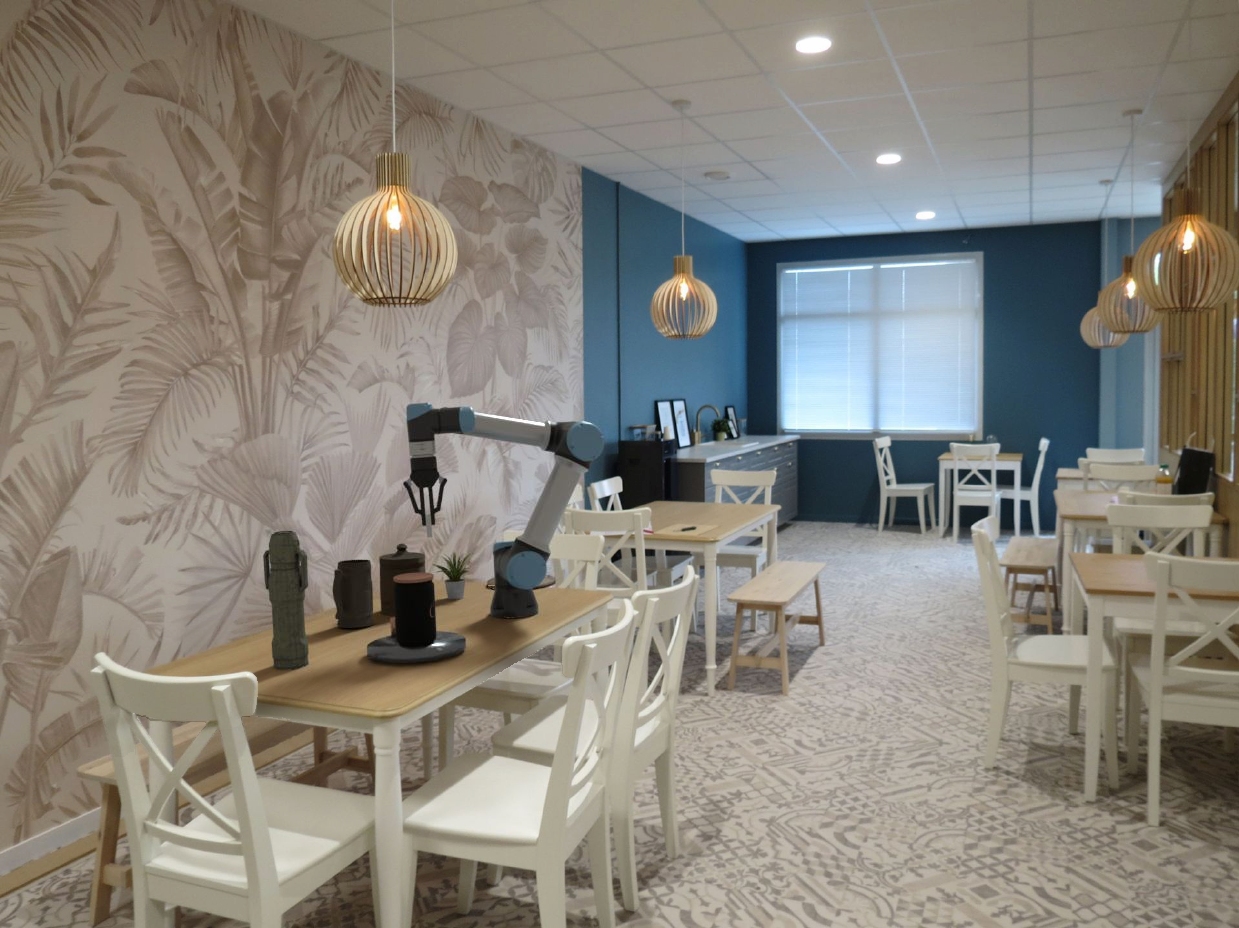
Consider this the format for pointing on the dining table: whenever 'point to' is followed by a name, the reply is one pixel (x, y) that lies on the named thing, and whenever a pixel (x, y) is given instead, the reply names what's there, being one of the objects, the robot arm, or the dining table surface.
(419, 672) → the dining table surface
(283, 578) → the thermos
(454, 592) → the house plant
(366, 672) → the dining table surface
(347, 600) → the beer stein
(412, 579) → the coffee jar
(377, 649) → the disc
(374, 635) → the dining table surface
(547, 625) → the dining table surface
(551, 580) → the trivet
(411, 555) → the wooden container
